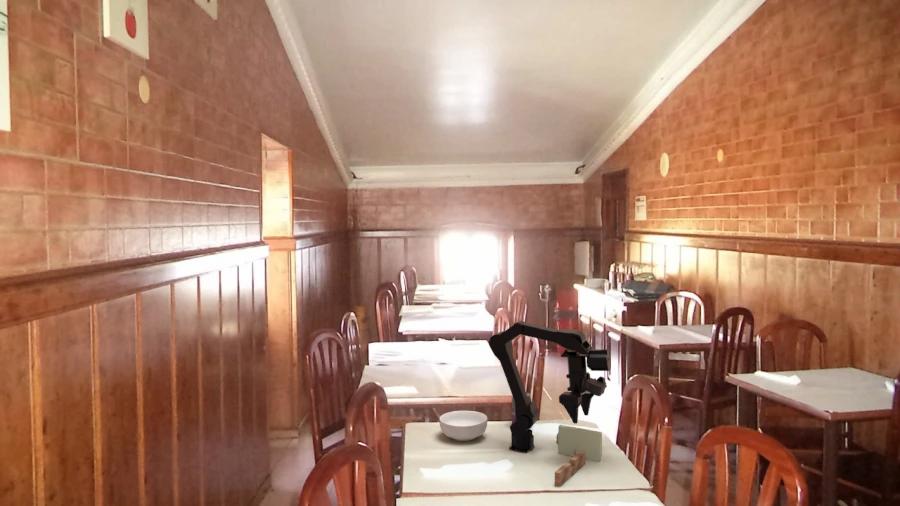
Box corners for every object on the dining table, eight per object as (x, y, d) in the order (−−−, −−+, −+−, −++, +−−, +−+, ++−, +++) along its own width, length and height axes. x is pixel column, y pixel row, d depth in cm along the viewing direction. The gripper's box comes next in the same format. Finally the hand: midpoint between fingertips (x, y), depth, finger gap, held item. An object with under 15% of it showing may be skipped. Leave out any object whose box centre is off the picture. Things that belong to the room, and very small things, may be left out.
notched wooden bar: (559, 486, 186) (559, 473, 185) (554, 485, 186) (554, 472, 186) (585, 464, 202) (585, 451, 202) (580, 463, 203) (580, 450, 203)
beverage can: (530, 430, 234) (530, 397, 234) (510, 429, 236) (510, 396, 235) (532, 424, 241) (532, 392, 241) (512, 422, 243) (512, 391, 242)
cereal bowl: (443, 428, 237) (443, 409, 236) (489, 430, 235) (489, 411, 234) (435, 444, 220) (435, 424, 220) (485, 447, 218) (485, 426, 217)
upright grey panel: (558, 453, 212) (558, 425, 211) (560, 451, 213) (560, 424, 213) (600, 461, 204) (600, 433, 204) (601, 460, 206) (602, 432, 205)
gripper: (591, 378, 195) (595, 430, 195) (611, 365, 211) (615, 413, 211) (556, 376, 201) (560, 426, 201) (579, 364, 217) (582, 410, 217)
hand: (581, 419), depth 208 cm, fingers open, 9 cm apart
